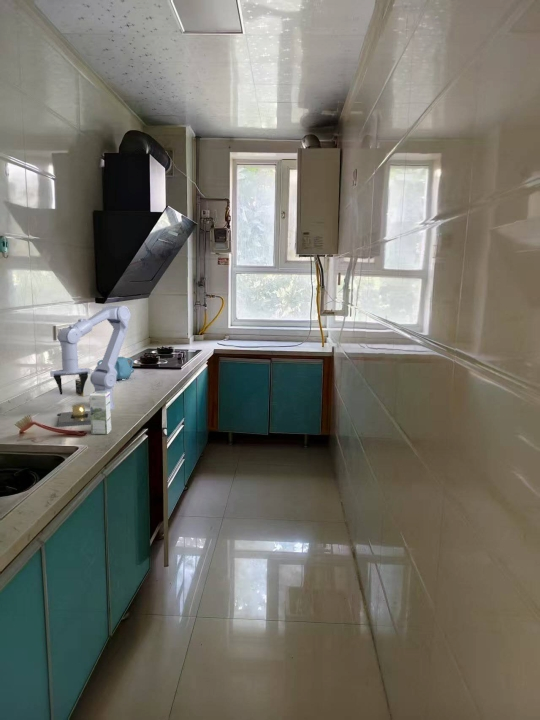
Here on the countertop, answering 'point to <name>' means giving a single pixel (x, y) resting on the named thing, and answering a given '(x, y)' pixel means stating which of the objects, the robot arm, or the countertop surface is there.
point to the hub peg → (78, 411)
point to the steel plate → (68, 420)
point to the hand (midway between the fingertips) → (71, 393)
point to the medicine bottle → (85, 386)
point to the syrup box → (100, 412)
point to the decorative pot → (122, 367)
